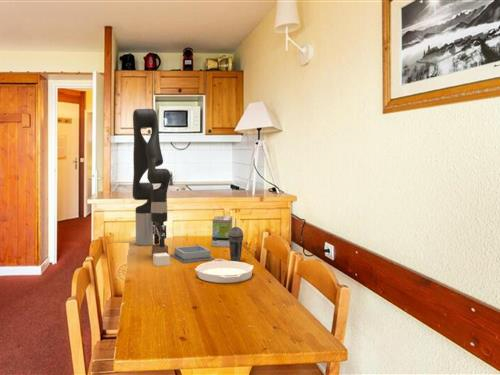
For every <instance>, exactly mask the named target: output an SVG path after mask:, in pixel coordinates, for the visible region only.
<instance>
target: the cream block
mask: <svg viewBox="0 0 500 375" xmlns="http://www.w3.org/2000/svg"><path fill="white" fill-rule="evenodd" d="M152 264H153V265H154V266H155V267H164V266H165V265H166V266H170V265H171V255H170V254H169V253H168V254H167V253H156V254H153V258H152Z"/></svg>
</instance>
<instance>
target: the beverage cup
mask: <svg viewBox="0 0 500 375" xmlns="http://www.w3.org/2000/svg"><path fill="white" fill-rule="evenodd" d="M234 220H235V222H234V223H235V224H234V227H233V226H232V229H231V230H230V231H229V235H228V237H229V244H230V247H229V255H230V256H229V257H230V261H237V262H241V257H242V249H243V241H244V236H245V235H244V231H243V230H242V229H241V228H240V227H238V226H237V218H236V217H235V218H234Z"/></svg>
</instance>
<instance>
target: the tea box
mask: <svg viewBox="0 0 500 375" xmlns="http://www.w3.org/2000/svg"><path fill="white" fill-rule="evenodd" d="M232 228H233V216H231V215H229V216H228V215H227V216H226V215H215V216H214V217H213V218H212V233H211V234H212V235H211V246H212V247H217V248H219V247H220V248H222V247H223V248H225V247H226V248H230V244H229V237H228V235H229V231H230V230H231V229H232Z"/></svg>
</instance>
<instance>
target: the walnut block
mask: <svg viewBox="0 0 500 375" xmlns="http://www.w3.org/2000/svg"><path fill="white" fill-rule="evenodd" d="M156 253H167V254H169V245H167V244H165V246H164V247H160V246H159V244H151V258H152V259H153V254H156Z"/></svg>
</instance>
